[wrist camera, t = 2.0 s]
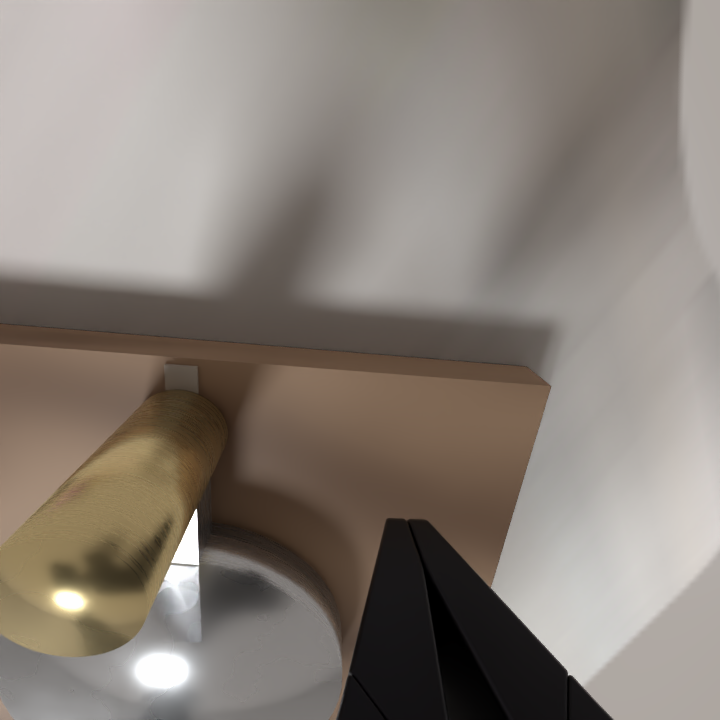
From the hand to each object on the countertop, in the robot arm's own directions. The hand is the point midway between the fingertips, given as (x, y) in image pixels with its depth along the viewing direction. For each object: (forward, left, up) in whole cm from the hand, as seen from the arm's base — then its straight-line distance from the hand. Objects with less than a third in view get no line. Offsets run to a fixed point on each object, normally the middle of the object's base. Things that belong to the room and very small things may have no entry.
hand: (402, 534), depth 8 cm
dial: (-6, +6, -3) cm, 9 cm away
